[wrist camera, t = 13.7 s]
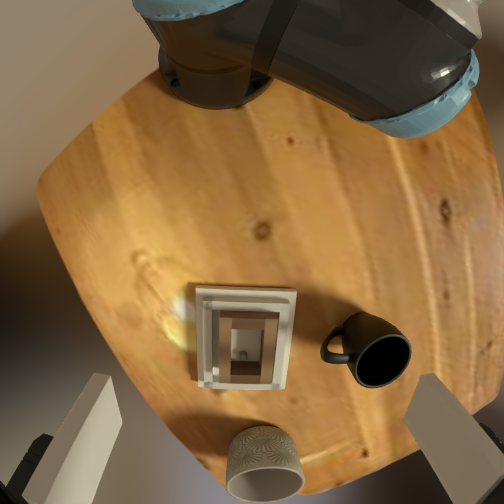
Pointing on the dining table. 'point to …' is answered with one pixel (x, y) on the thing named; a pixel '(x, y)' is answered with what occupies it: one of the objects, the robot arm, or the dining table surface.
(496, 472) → the robot arm
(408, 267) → the dining table surface
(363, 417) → the dining table surface
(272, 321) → the frame
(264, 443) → the planter
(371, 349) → the mug
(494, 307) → the dining table surface
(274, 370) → the white flat rectangular tray
